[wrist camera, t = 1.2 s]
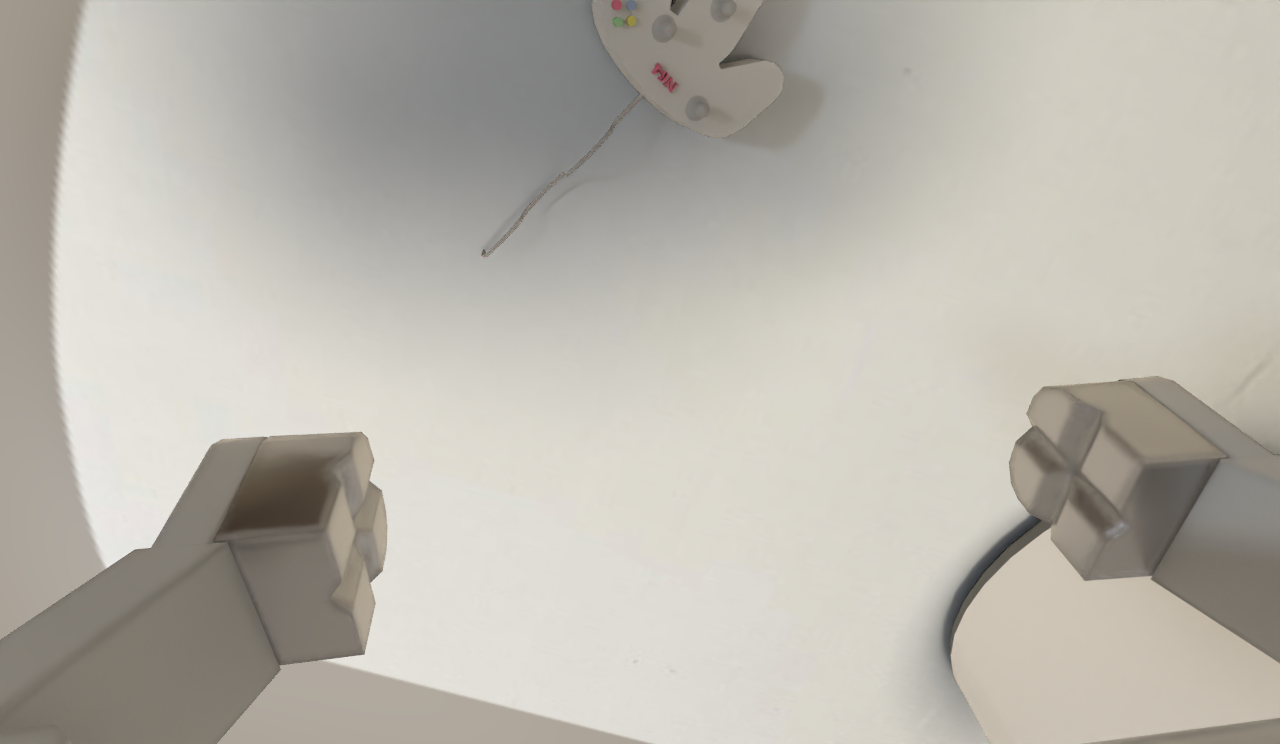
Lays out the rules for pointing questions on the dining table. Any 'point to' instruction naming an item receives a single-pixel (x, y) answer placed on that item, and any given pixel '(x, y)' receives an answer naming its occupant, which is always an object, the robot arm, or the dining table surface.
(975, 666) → the bucket
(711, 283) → the dining table surface
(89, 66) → the dining table surface
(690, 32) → the game controller
